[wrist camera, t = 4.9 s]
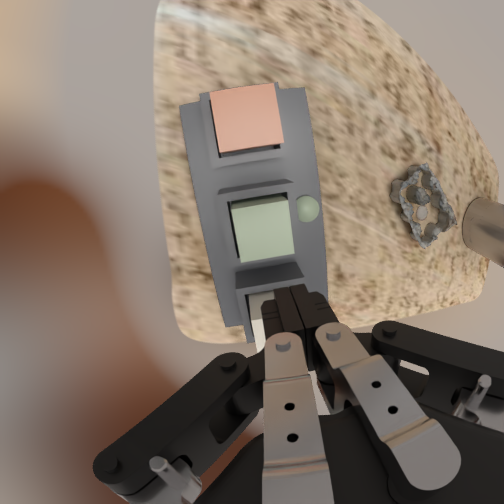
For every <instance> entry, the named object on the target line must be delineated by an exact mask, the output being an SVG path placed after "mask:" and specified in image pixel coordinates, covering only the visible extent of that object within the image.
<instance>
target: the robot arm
mask: <svg viewBox="0 0 504 504" xmlns="http://www.w3.org/2000/svg"><path fill="white" fill-rule="evenodd" d="M463 239H464V242H465V244H466V246H467V247H468V248H470V249H472V250H474V251H475V252H477V253H479V254H481V255H483V256H484V257H486V258H488V259H489V260H491V261H493V262H495V263H496V264H498V265H500V266H501V267H503V268H504V205H503V204H500V203H497V202H494V201H491V200H488V199H484V198H477V199H475V200H474V201H473V202H472V203H471V204H470V205H469V207H468V209H467V211H466V214H465V217H464V221H463ZM273 293H274V299H272V300H266V301H264V302H263V304H262V305H261V307H260V308H261V314H262V320H263V327H264V333H265V339H266V342H265V346H264V348H263V349H262V350H261V351H260V352H258V353H257V354H255V355H253V356H251V357H248V358H246V357H245V356H244V355H242V354H240V353H235V352H231V353H225V354H222V355H220V356H218V357H216V358H215V359H214V360H212V361H211V362H210V363H209V364H208V365H207V366H206V367H205V368H204V369H202V370H201V371H200V372H199V373H198V374H197V375H196V376H194V377H193V378H192V379H191V380H190V381H189V382H187V383H186V384H185V385H184V386H183V387H182V388H181V389H180V390H178V391H177V392H176V393H175V394H173V395H172V396H171V397H170V398H169V399H167V400H166V401H165V402H164V403H163V404H162V405H160V406H159V407H158V408H157V409H155V410H154V411H153V412H152V413H151V414H149V415H148V416H147V417H146V418H144V419H143V420H142V421H141V422H139V423H138V424H137V425H136V426H134V427H133V428H132V429H130V430H129V431H128V432H127V433H126V434H124V435H123V436H121V437H120V438H119V439H118V440H116V441H115V442H114V443H112V444H111V445H110V446H108V447H107V448H106V449H104V450H103V451H102V452H100V453H99V454H98V455H97V457H96V458H95V460H94V462H93V471H94V474H95V476H96V477H97V478H98V479H99V480H100V481H101V482H102V483H104V484H105V485H107V486H108V487H109V488H110V489H111V490H112V491H113V492H115V493H116V494H117V495H119V496H120V497H122V498H123V499H125V500H127V501H128V502H129V503H130V504H504V352H501V351H497V350H494V349H490V348H486V347H483V346H479V345H475V344H472V343H468V342H465V341H461V340H457V339H454V338H450V337H446V336H443V335H440V334H437V333H433V332H429V331H426V330H423V329H419V328H416V327H413V326H409V325H406V324H402V323H399V322H396V321H382V322H379V323H377V324H376V325H375V326H374V327H373V329H372V333H354V332H352V331H351V329H350V328H349V327H348V326H347V325H345V324H342V323H340V322H339V321H338V319H337V317H336V315H335V314H334V312H333V310H332V309H331V307H330V305H329V303H328V302H327V300H326V298H325V297H324V295H322V294H321V293H319V292H317V291H314V292H308V290H307V288H306V286H305V284H304V283H303V284H297V285H292V286H289V287H288V286H287V287H281V288H275V289H273ZM401 360H404V361H407V362H410V363H413V364H416V365H418V366H421V367H424V368H426V369H427V370H428V372H429V375H425V374H422V373H419V372H416V371H413V370H410V369H407V368H404V367H402V366H400V362H401ZM307 368H308V370H307ZM313 370H315V371H316V374H317V385H318V388H319V390H320V392H321V394H322V397H323V399H324V401H325V403H326V406H327V408H328V410H329V412H330V415H318V413H317V408H316V402H315V396H314V392H313V386H312V381H311V377H310V374H308V371H313ZM260 408H263V409H264V433H262V434H260V435H258V436H257V437H255V438H254V439H253V440H251V441H250V442H248V443H247V444H246V445H245V446H244V447H243V448H242V449H241V450H240V451H239V453H238V454H237V455H236V456H235V457H234V459H233V460H232V461H231V462H230V463H229V465H228V466H227V467H226V468H225V469H224V470H223V471H222V473H221V474H220V475H219V476H218V477H217V478H216V479H215V481H214V482H213V483H212V484H211V485H210V486H209V487H208V488H207V489H206V490H205V491H204V492H203V493H202V494H201V495H200V496H199V497H198V498H197V496H198V495H199V493H200V492H201V489H202V484H201V481H200V479H199V477H200V476H201V475H202V474H203V473H204V472H205V471H206V470H207V469H208V468H209V467H210V466H211V465H212V464H213V463H214V462H215V461H216V460H217V459H218V458H219V457H220V456H221V455H222V454H223V453H224V451H226V450H227V448H228V447H229V446H230V445H231V444H232V443H233V442H234V441H235V440H236V439H237V438H238V436H239V435H240V434H241V433H242V432H243V431H244V430H245V428H246V427H247V426H248V425H249V424H250V423H251V422H252V420H253V419H254V418H255V417H256V416H257V414H258V412H259V409H260ZM196 498H197V499H196ZM195 499H196V501H195ZM194 501H195V502H194Z"/></svg>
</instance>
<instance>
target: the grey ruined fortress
mask: <svg viewBox="0 0 504 504" xmlns="http://www.w3.org/2000/svg"><path fill="white" fill-rule="evenodd" d="M421 170H422V172H423V176H422V179H421V182H422V185H423V187H424V188H426V189H430V190H431V191H432V195H431V199H430V197H429V195H428V194H427V192H426V191H425V189H423V188H421V187H417V186H410V187H409V188H408V190H407V193H406V196H407V199H408V200H409V201H410V202H413V203H415V204H418V205H420V206H419V207H418V209H417V211H416V216H417V218H418V219H419V220H424V219H425V218H426V216H427V214H428V211H427V208H426V207H425V206H424V205H425V204H427V203H429V202H430V201H431V204H432V205H433V206H434V207H436V208H439V209H440V213H439V215H438V223H437V224H436V225H435V224H433V223H429V224H427V226H426V227H425V230H424V234H425V235H424V237H422V238H420V233H421V232H422V231H421V227H420V224H419V223H416V222H414V221H412V220H413V219H412V214H413V213H414V212H413V210H412V209H413V207H412V205H411V204H410V203H406V202H405V201H404V200H405V198H404V197H402V196H401V194H400V193H401V190H402V189H404V188H405V187H407V186H408V185H411V184H416V183H417V182H418V181H417V179H418V178H419V176H418V173H420V172H421ZM390 197H391V199H392V201H394V202H397V203H400V204H401V206H402V209H403V211H402V213H401V217H402V219H403V220H404V221H406V222H408V223H410V225H411V227H412V231H411V232H410V235H411V237H412V239H415V240H417V241H418V242H419V244H420V246H421V247H422V248H424V249H425V248H426V247H428V246H430V245H431V242H433V241H434V240H436V239H437V238H438V237H437V235H438V234H439V233H440V232H445V231H447V230H449V229H450V228H451V227H452V226H453V225H455V224H456V225H457V221H456V217H455V215H454V211H453V210H452V208H451V206H450V205H449V204H448V202H447V199H446V195H445V194H444V193H443V190H442V188H441V186H440V183H439V181H438V180H437V178H436V177H435V175H434V174H433V173H432V171H431V170H430V169H429V165H428V164H427V163H425V164H422V165H420V166H419V167H417V166H412V165H411V166H410V167H409V168H408V179H407V180H406V181H402V180H398V179H395V180H394V181H393V182H392V193H391V194H390Z"/></svg>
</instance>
